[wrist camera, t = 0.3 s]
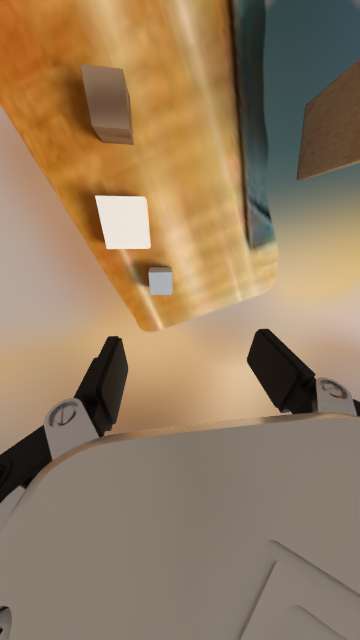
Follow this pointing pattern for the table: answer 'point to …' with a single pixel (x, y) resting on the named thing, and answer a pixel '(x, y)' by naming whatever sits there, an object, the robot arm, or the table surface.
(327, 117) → the wooden block
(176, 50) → the table surface
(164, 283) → the slate-grey cube
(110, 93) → the walnut cube
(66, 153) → the table surface
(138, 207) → the off-white block
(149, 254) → the table surface
